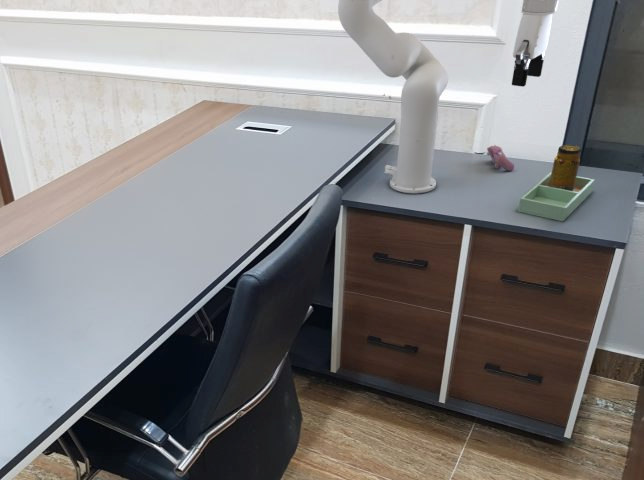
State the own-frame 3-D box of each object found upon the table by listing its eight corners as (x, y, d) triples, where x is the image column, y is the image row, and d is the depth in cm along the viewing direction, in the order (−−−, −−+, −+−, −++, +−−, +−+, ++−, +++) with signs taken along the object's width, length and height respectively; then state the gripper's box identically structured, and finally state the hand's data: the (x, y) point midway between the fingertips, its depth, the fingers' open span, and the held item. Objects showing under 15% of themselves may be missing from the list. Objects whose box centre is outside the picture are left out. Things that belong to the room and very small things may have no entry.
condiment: (554, 184, 195) (563, 141, 189) (585, 192, 190) (596, 148, 183) (540, 192, 192) (549, 149, 185) (572, 200, 186) (582, 156, 180)
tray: (517, 211, 185) (520, 198, 183) (548, 183, 198) (551, 171, 196) (563, 221, 179) (566, 208, 177) (591, 192, 192) (595, 179, 190)
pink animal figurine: (489, 165, 216) (482, 145, 213) (504, 157, 215) (497, 137, 212) (500, 177, 208) (492, 157, 205) (516, 169, 207) (508, 149, 203)
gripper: (537, -2, 175) (524, 71, 184) (508, 11, 164) (496, 87, 174) (569, -1, 170) (554, 74, 180) (542, 13, 160) (528, 91, 169)
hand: (526, 80), depth 177 cm, fingers open, 9 cm apart
